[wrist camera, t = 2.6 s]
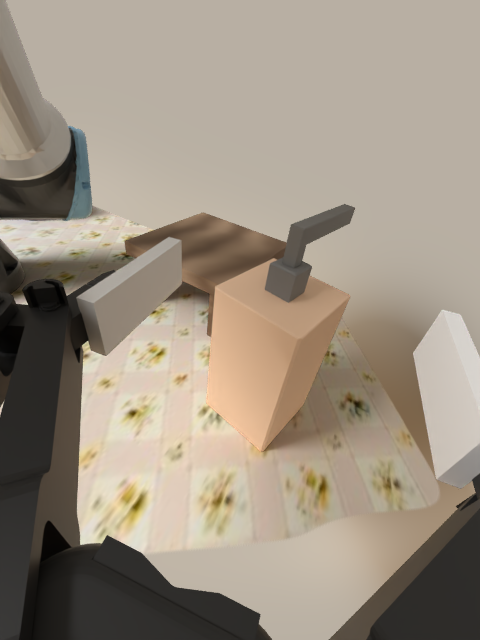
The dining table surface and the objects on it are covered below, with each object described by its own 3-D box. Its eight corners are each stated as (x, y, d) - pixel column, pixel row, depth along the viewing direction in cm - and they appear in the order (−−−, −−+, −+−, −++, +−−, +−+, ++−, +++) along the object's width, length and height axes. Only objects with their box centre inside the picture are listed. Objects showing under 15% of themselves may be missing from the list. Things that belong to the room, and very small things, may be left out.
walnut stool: (132, 298, 48) (124, 240, 42) (201, 260, 61) (203, 212, 54) (221, 347, 42) (227, 288, 35) (277, 294, 54) (289, 243, 48)
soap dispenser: (261, 452, 30) (325, 265, 17) (204, 402, 34) (218, 216, 21) (320, 385, 39) (396, 221, 25) (269, 350, 42) (309, 192, 29)
